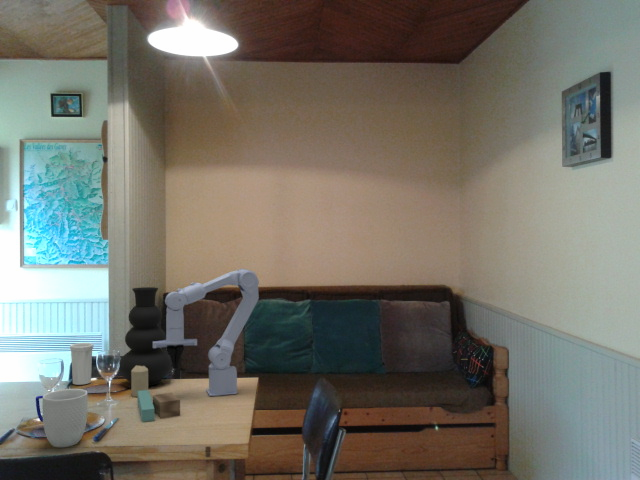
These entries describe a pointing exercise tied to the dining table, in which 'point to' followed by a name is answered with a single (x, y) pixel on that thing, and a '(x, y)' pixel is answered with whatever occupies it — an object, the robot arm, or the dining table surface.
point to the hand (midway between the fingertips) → (175, 367)
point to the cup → (81, 362)
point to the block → (166, 405)
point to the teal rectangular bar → (145, 406)
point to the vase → (145, 338)
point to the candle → (139, 380)
